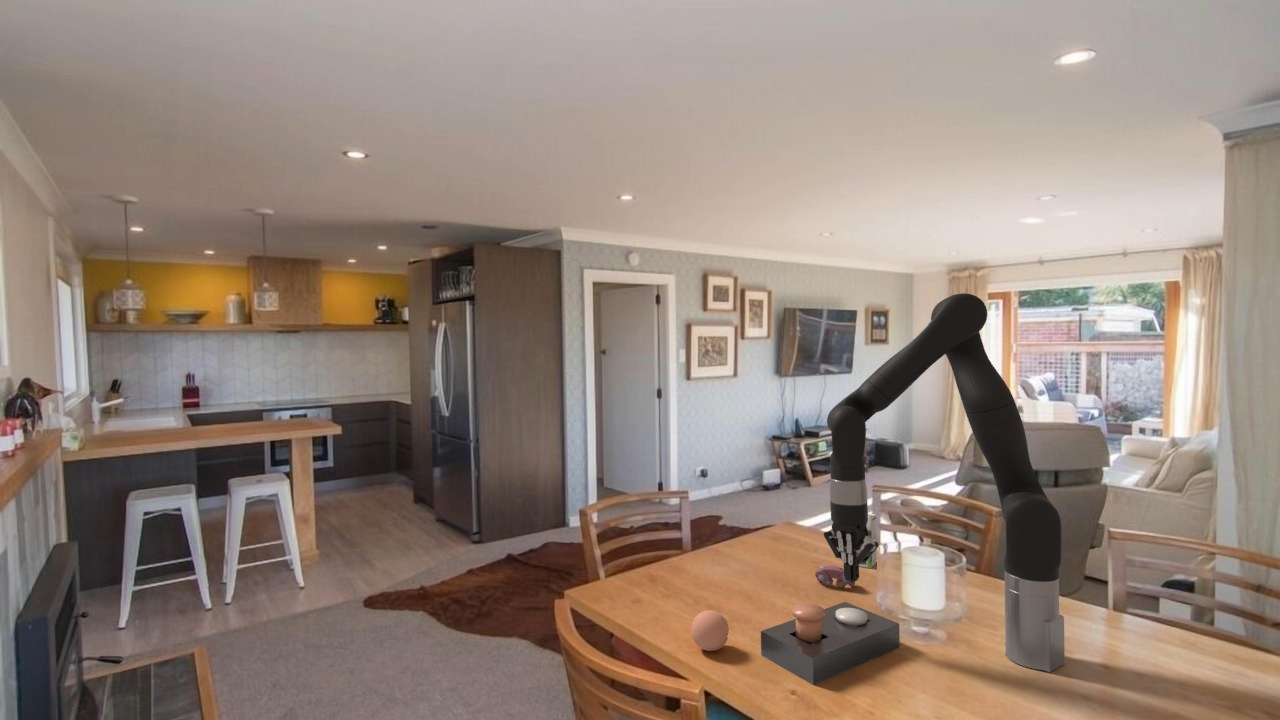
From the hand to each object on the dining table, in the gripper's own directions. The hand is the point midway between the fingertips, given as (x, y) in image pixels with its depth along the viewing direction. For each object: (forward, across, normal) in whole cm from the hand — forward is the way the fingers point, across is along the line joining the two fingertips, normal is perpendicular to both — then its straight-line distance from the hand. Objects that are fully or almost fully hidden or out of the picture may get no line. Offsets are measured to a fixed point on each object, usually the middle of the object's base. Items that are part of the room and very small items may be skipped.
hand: (851, 580), depth 133 cm
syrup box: (+14, +30, -43) cm, 54 cm away
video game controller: (+14, +24, -22) cm, 36 cm away
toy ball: (+13, +16, +26) cm, 34 cm away
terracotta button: (+9, +1, +13) cm, 16 cm away
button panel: (+13, 0, +7) cm, 15 cm away
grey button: (+13, +1, 0) cm, 13 cm away
